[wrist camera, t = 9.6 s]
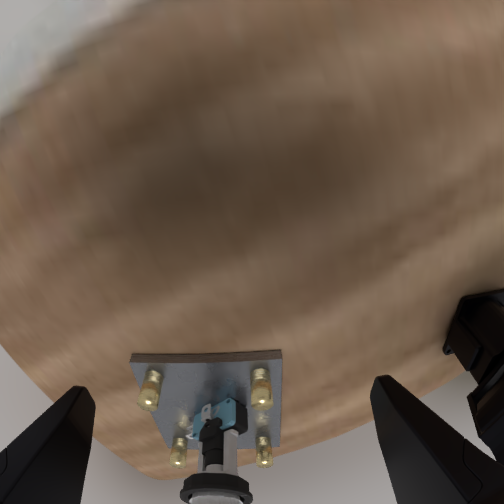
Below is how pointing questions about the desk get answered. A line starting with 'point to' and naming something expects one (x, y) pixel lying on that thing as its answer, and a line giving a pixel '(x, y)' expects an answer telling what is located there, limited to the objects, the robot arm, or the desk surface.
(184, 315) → the desk surface
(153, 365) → the chassis
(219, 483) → the push button
